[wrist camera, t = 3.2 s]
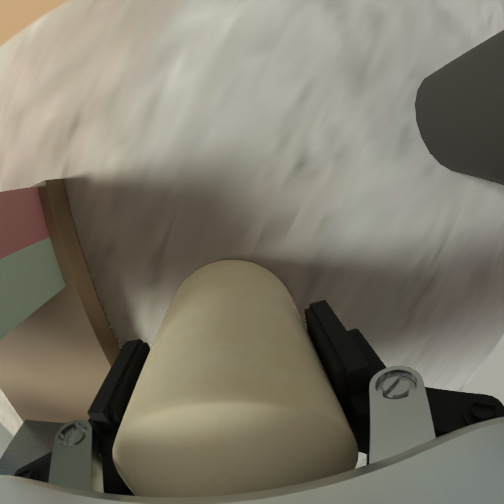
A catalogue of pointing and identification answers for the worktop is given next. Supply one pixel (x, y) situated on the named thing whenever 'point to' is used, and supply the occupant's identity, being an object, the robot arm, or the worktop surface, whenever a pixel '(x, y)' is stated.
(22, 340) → the brown wooden board
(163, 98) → the worktop surface
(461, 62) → the coffee cup
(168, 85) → the worktop surface
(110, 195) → the worktop surface
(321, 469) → the candle
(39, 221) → the books
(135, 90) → the worktop surface
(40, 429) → the bookend
